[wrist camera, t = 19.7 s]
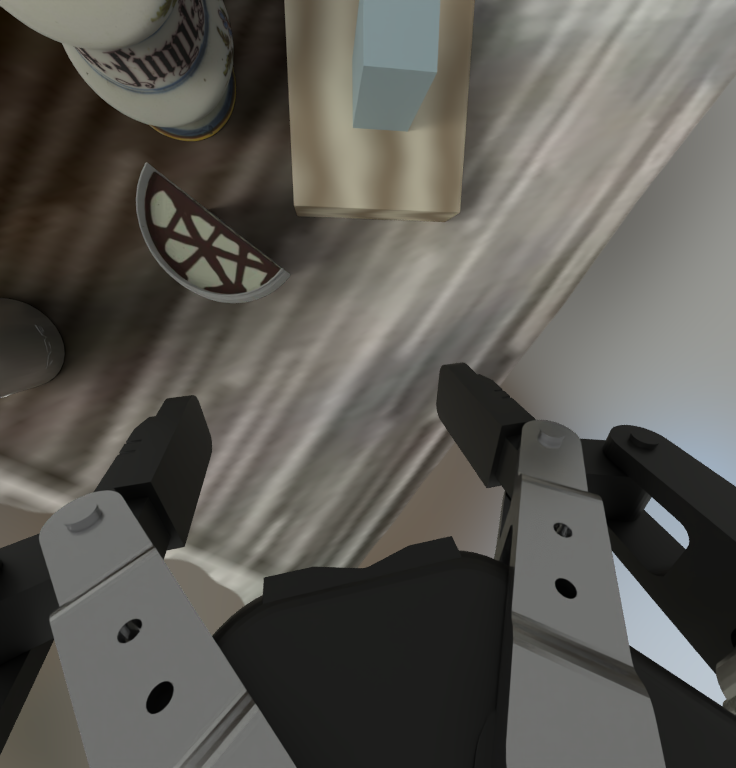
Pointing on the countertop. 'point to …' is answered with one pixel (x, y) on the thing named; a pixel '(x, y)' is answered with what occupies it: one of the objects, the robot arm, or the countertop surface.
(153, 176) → the food container
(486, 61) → the countertop surface
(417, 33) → the blue-grey block
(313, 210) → the birch base
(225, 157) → the countertop surface
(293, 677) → the robot arm
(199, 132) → the apothecary jar
